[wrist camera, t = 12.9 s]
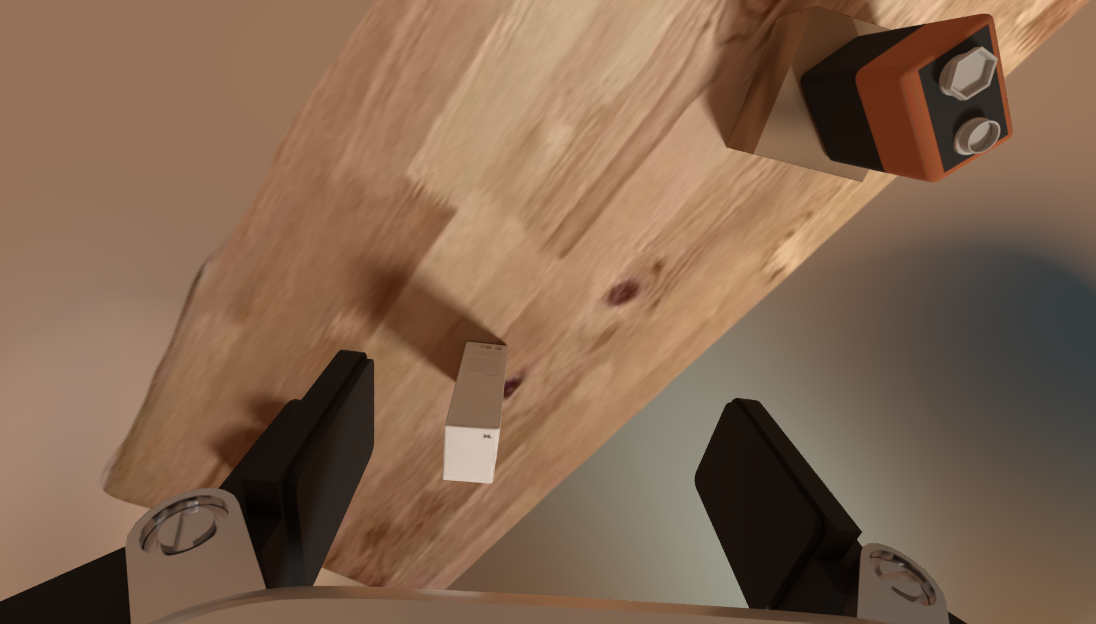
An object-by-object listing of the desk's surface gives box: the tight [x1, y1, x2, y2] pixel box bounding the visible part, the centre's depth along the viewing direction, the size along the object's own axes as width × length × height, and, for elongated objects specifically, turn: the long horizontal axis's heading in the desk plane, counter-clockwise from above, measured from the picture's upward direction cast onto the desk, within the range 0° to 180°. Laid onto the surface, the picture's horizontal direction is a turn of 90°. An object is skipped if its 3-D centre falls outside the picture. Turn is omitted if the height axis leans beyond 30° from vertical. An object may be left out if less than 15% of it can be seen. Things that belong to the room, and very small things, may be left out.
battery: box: [800, 14, 1013, 182], centre depth 25 cm, size 4×7×10 cm, turn 36°
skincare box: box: [443, 342, 508, 483], centre depth 38 cm, size 6×4×12 cm
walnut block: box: [727, 6, 890, 182], centre depth 31 cm, size 9×9×5 cm
